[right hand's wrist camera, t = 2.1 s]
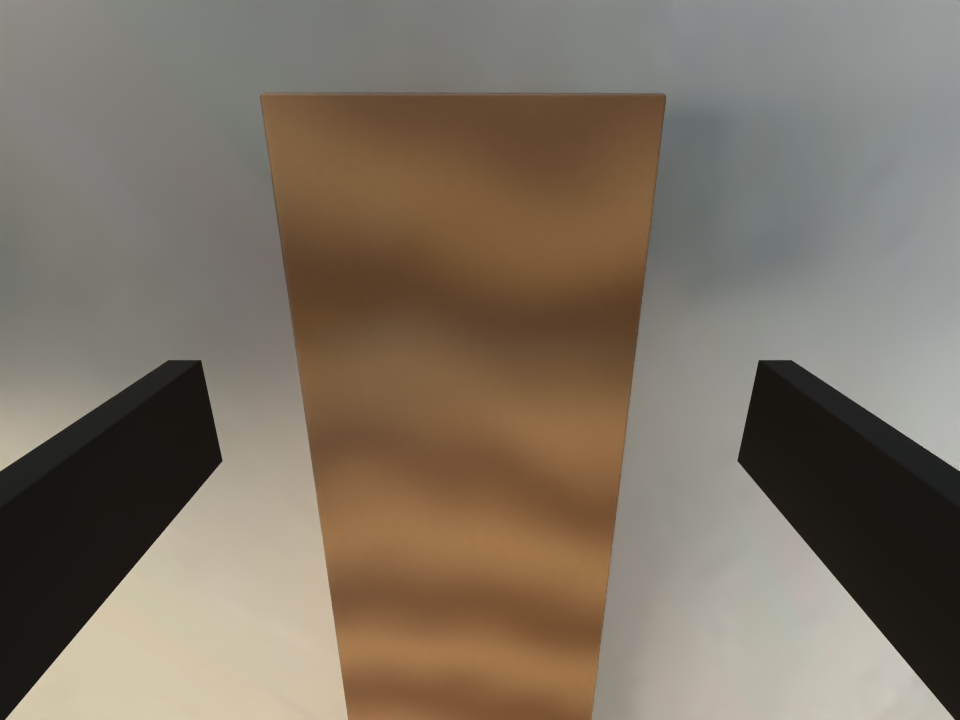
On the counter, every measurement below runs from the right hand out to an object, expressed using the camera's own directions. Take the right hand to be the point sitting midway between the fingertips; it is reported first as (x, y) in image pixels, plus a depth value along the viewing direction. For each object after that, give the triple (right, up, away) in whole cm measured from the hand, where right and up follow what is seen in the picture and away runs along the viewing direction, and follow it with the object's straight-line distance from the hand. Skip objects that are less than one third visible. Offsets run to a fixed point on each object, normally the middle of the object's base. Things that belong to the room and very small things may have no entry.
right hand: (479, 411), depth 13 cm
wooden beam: (0, -26, +21) cm, 33 cm away
